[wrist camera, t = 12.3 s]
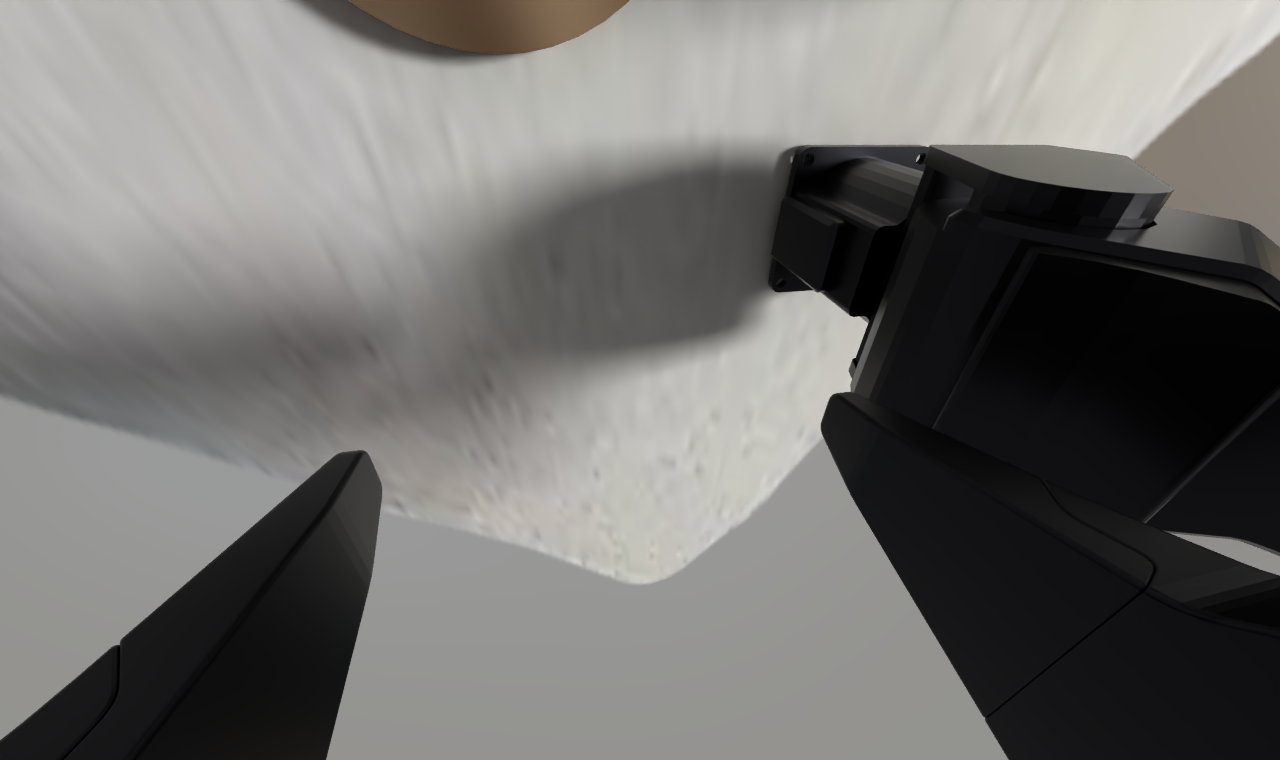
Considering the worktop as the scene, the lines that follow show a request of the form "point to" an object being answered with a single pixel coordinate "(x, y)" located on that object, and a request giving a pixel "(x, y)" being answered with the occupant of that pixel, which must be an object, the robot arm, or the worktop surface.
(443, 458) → the worktop surface
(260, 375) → the worktop surface
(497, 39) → the walnut board
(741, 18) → the worktop surface
